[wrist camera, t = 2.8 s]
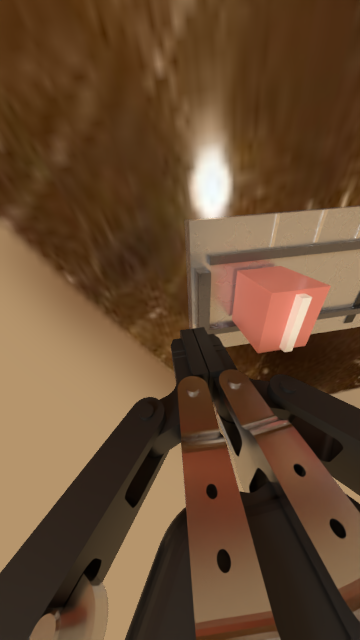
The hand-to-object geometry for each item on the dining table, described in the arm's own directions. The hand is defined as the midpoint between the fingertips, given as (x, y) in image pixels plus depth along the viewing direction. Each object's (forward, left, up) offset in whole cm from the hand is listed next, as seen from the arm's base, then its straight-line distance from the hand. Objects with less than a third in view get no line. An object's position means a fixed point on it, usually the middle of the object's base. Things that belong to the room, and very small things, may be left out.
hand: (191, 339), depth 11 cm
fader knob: (-7, 0, -5) cm, 9 cm away
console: (-14, 0, -8) cm, 16 cm away
